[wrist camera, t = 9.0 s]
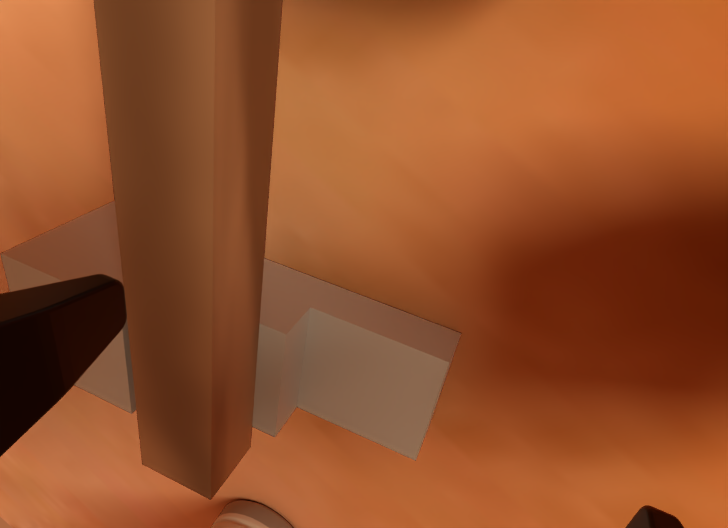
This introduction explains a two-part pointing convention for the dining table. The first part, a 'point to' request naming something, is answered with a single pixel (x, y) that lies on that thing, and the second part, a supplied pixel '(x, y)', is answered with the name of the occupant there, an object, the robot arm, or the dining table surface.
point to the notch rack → (277, 342)
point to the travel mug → (249, 516)
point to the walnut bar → (191, 216)
